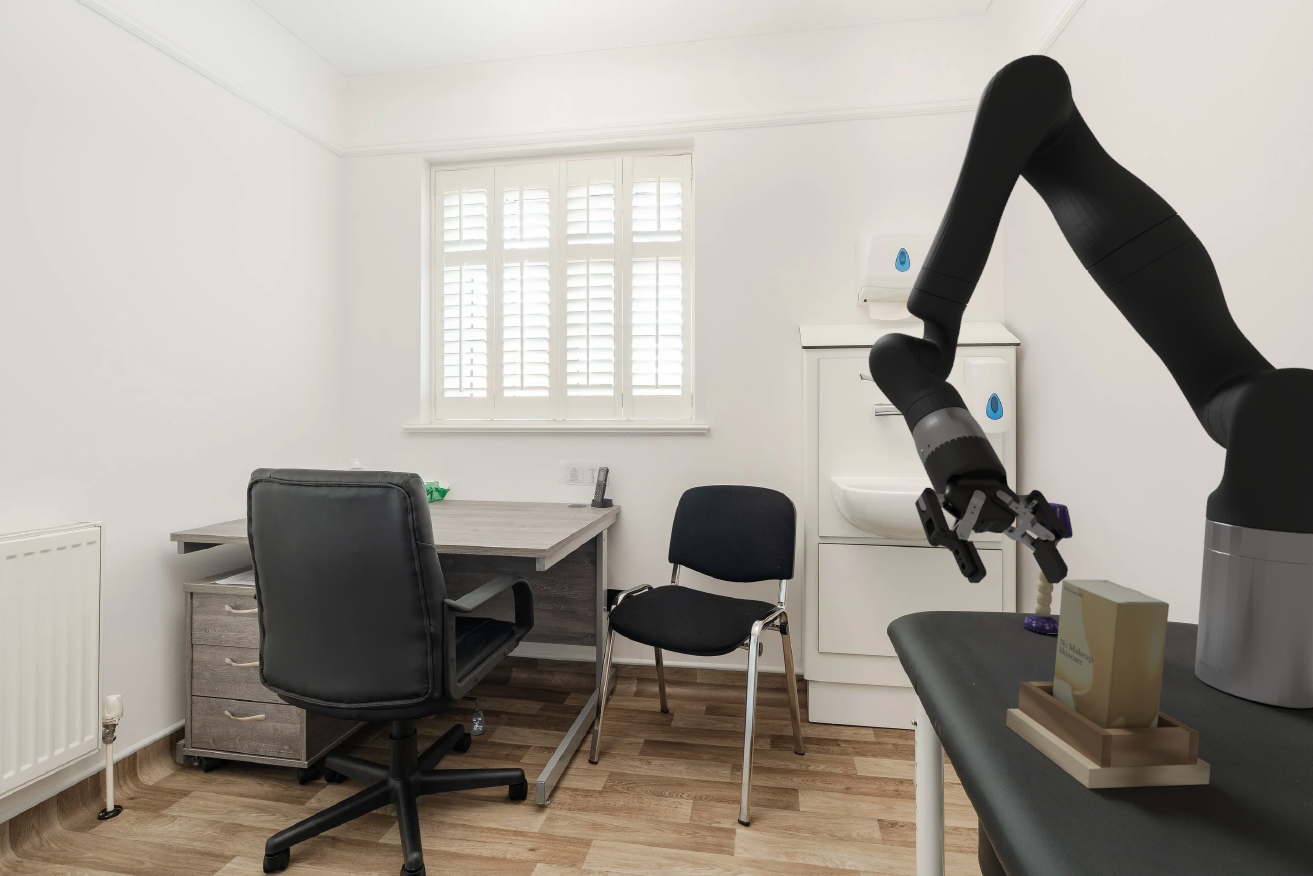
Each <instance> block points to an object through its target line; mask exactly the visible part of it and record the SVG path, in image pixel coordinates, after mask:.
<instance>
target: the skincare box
mask: <svg viewBox="0 0 1313 876" xmlns="http://www.w3.org/2000/svg"><path fill="white" fill-rule="evenodd" d="M1061 583H1062V584H1061V596H1060V607H1059V608H1060V609H1059V617H1058V618H1059V620H1058V624H1059V628H1058V635H1057V641H1056V651H1055V652H1056V653H1055V665H1054V675H1053V677H1054V678H1053V681H1054V686H1053V698H1055V699H1057V700H1058V701H1060V702H1061V703H1063V704H1065V705H1066V706H1068V707H1069V708H1071V709H1072V710H1074V711H1076V712H1077V713H1079V714H1080V715H1082V716H1084V717H1085V718H1087V719H1088V720H1090V721H1091V722H1093V723H1095V724H1096V725H1098V726H1099V727H1101V728H1103V729H1126V728H1157V723H1158V713H1159V711H1160V710H1159V709H1160V701H1161V692H1162V691H1161V690H1162V689H1161V688H1162V680H1163V670H1164V669H1163V668H1164V660H1165V647H1166V640H1167V629H1168V621H1169V619H1168V617H1169V609H1170V604H1169V602H1166V601H1163V600H1160V599H1158V598H1155V597H1153V596H1150V595H1147V594H1146V593H1143V592H1141V591H1139V590H1136V589H1133V588H1130V587H1126V586H1123V585H1120V584H1118V583H1116V582H1113V581H1110V580H1107V579H1063V580H1062V581H1061Z"/></svg>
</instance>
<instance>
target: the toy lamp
mask: <svg viewBox="0 0 1313 876" xmlns="http://www.w3.org/2000/svg"><path fill="white" fill-rule="evenodd" d="M1048 503H1049V504H1050V506H1051V507H1052V509H1053V510H1054V512H1055V513H1056V515H1057V516H1058V518H1059V519H1060V521H1061V522H1062V524H1063V525H1064V527H1065V528H1066V530H1067V532H1068V534H1067V535H1066V536H1065V537H1064V538H1063V539H1072V537H1073V528H1072V522H1071V518H1070V517H1071V516H1070V514H1069V513H1070V512H1069V508H1068V506H1067V505H1065V504H1062V503H1054V502H1048ZM1047 527H1048V529H1049V531H1050V530H1052V529H1051V528H1050V526H1049V525H1047ZM1058 544H1059V542H1058V543H1057V544H1056V545H1055V546H1056V547H1057V546H1058ZM1038 579H1039V580H1038V582H1037V584H1036V589H1037V593H1036V595H1035V600H1036V604H1035V606H1034V607H1035V608H1034V611H1035V614H1037V615H1049V616H1028V615H1026V617H1024V619H1023V621H1022V626H1023V628H1025V627H1026V628H1025V629H1027V630H1029V629H1030V630H1029V631H1031V630H1033V631H1032V632H1034V631H1036V632H1035V633H1038V632H1041V633H1040V634H1042V633H1058V628H1059V621H1058V620H1056V619H1055V618H1054V617H1052V616H1050V615H1051V611H1052V609H1051V604H1052V603H1053V602H1052V601H1053V596H1052V593H1053V591H1054V583H1049V582H1048V581H1047V579H1046V578H1045V576H1044V574H1043V572H1042V570H1041V568H1040V569H1039V570H1038Z"/></svg>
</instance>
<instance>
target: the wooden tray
mask: <svg viewBox="0 0 1313 876" xmlns="http://www.w3.org/2000/svg"><path fill="white" fill-rule="evenodd" d="M1053 686H1054V680H1052V681H1020V682H1019V693H1018V694H1019V696H1018V708H1007V710H1006V727H1008V728H1009V729H1010V730H1011V731H1013V732H1014V733H1015V734H1016V735H1018V736H1019V737H1021V738H1022V739H1023V740H1024V741H1026V742H1027V743H1029V744H1030V745H1031V746H1032V747H1033V748H1035V749H1036V750H1038V752H1040V753H1041V754H1043V755H1044V756H1045V757H1047V758H1048V759H1049V760H1050V761H1052V762H1053V763H1054V764H1056V765H1057V766H1058V767H1059V768H1061V769H1062V770H1063V771H1065V773H1067V774H1069V775H1070V776H1071V777H1073V778H1074V779H1075V780H1077V781H1078V782H1079V783H1080V784H1081V785H1083V786H1084V787H1086V788H1087V789H1105V788H1106V789H1107V788H1108V789H1109V788H1136V787H1137V788H1139V787H1160V786H1161V787H1163V786H1164V787H1166V786H1187V785H1189V786H1191V785H1193V786H1194V785H1209V784H1210V772H1211V764H1210V763H1208V762H1206V761H1205V760H1202V759H1201V758H1200V757H1198V756H1199V745H1200V743H1199V741H1200V731H1197V730H1196V729H1194V728H1192V727H1191V726H1188V725H1187V724H1186V723H1185V724H1184V723H1183V722H1181V721H1179V720H1177V719H1175V718H1173V717H1171V716H1169V715H1168V714H1166V713H1164V712H1163V711H1161V710H1159V713H1158V723H1157V728H1126V729H1103V728H1101V727H1099V726H1098V725H1096V724H1095V723H1093V722H1091V721H1090V720H1088V719H1087V718H1085V717H1084V716H1082V715H1080V714H1079V713H1077V712H1076V711H1074V710H1072V709H1071V708H1069V707H1068V706H1066V705H1065V704H1063V703H1061V702H1060V701H1058V700H1057V699H1055V698H1053Z"/></svg>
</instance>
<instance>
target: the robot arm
mask: <svg viewBox="0 0 1313 876" xmlns="http://www.w3.org/2000/svg"><path fill="white" fill-rule="evenodd" d="M1073 97H1074V96H1073V91H1072V84H1071V81H1070V78H1069V75H1068V73H1067V72H1066V70H1065V68H1064V67H1063V66H1062V65H1061V63H1059V62H1058V61H1057V60H1055V58H1052V57H1050V56H1048V55H1043V54H1030V55H1025V56H1021V57H1019V58H1016V59H1014V60H1012V61H1010V62H1009V63H1007V64H1005V65H1003V67H1002V68H1000V69H999V70H998V71H997V72H995V74H994V75H993V76H992V77H991V79H989V81H988V82H987V84H986V86H985V87H984V88H983V91H982V93H981V96H980V98H979V100H978V101H979V102H978V106H977V110H976V113H975V117H974V120H973V123H972V124H973V125H972V129H971V132H970V136H969V140H968V142H967V143H968V144H967V148H966V152H965V155H964V158H963V162H962V164H961V168H960V171H959V174H958V177H957V180H956V182H955V186H954V189H953V191H952V194H951V196H950V199H949V202H948V205H947V207H946V209H945V213H944V214H943V216H942V219H941V222H940V224H939V227H938V229H937V231H936V234H935V236H934V238H933V241H932V243H931V245H930V248H929V250H928V252H927V254H926V256H925V258H924V260H923V262H922V265H921V268H920V270H919V273H918V275H917V277H916V280H915V282H914V284H913V286H912V287H913V288H912V289H911V290H910V293H909V296H908V299H907V301H906V309H907V311H908V312H909V313H910V314H911V315H912V316H913V317H916V318H917V319H919V320H921V321H922V322H923V335H922V338H921V337H917V336H913V335H910V334H906V333H901V332H891V333H887V334H884V335H882V336H880V337H879V338H878V339H876V341H875V342H874V343H873V345H872V347H871V349H870V352H869V355H868V368H869V369H868V370H869V373H870V375H871V378H872V380H873V382H874V383H875V385H876V386H877V388H878V389H879V390H880V391H881V392H882V394H883V395H884V396H885V397H886V398H887V400H888V401H889V402H890V403H891V404H892V405H893V406H894V408H896V409H897V410H898V412H900V414H901V415H902V416H903V419H904V421H905V423H906V426H907V428H908V430H909V431H910V434H911V436H912V439H913V441H914V446H915V448H916V451H917V454H918V457H919V459H920V461H921V464H922V465H923V468H924V470H925V472H926V474H927V477H928V479H929V481H930V484H931V486H932V487H925V488H924V489H923V490H922V492H921V494H920V495H919V496H918V498H917V499H916V501H915V503H914V505H915V508H916V510H917V513H918V516H919V519H920V522H921V525H922V526H923V527H922V528H923V530H924V533H925V536H926V539H927V542H928V544H929V545H930V546H932V547H939V546H942V547H945V548H946V549H947V550H948V552H949V551H950V553H952V554H953V557H954V560H955V562H956V564H957V566H958V569H959V571H960V573H961V574H962V576H963V577H964V578H967V581H968V582H969V583H970V584H979V583H980V582H981V581H983V579H984V578H985V577H986V576H987V569H986V567H985V564H984V562H983V561H982V558H981V557H980V554H979V552H978V550H977V547H976V546H975V543H974V541H973V540H969V538H970V536H971V533H972V531H973V532H974V534H983V533H986V532H989V533H993V534H1004V535H1005V536H1006V537H1008V538H1009V539H1010V540H1012V541H1018V542H1020V543H1021V544H1024V546H1025V547H1027V548H1029V549H1030V550H1031V551H1032V552H1033V553H1032V555H1033V557H1034V560H1035V561H1036V563H1037V565H1038V566H1039V568H1040V569H1041V570H1042V572H1043V574H1044V576H1045V578H1046V579H1047V581H1048V582H1049V583H1053V584H1059V583H1060V582H1062V581H1063V580H1065V578H1067V576H1068V572H1069V569H1068V566H1067V563H1066V562H1065V561H1064V558H1063V557H1062V555H1061V553H1060V551H1059V550H1058V548H1057V546H1055V545H1056V544H1057V543H1058V544H1059V542H1061V541H1062V540H1063V539H1065V538H1064V537H1065V536H1066V535H1067V534H1068V532H1067V530H1066V528H1065V527H1064V525H1063V524H1062V522H1061V521H1060V519H1059V518H1058V516H1057V515H1056V513H1055V512H1054V510H1053V509H1052V507H1051V506H1050V504H1049V503H1050V502H1048V499H1046V497H1045V496H1044V494H1043V493H1042V492H1041V491H1040V490H1038V489H1033V490H1031V491H1030V492H1029V493H1028V494H1018V493H1016V492H1015V491H1013V490H1012V489H1011V487H1009V485H1008V476H1007V475H1008V474H1007V471H1006V468H1005V467H1004V464H1003V463H1002V461H1001V459H1000V457H999V456H998V454H997V452H996V451H995V449H994V447H993V446H992V444H991V442H990V441H989V438H988V437H987V434H986V433H985V432H984V430H983V428H982V427H981V425H980V424H979V422H978V421H977V420H976V419H975V417H974V416H973V415H972V413H971V412H970V410H969V408H968V406H967V404H966V402H965V401H964V399H963V397H962V396H961V394H960V392H959V391H958V390H957V388H956V387H955V386H954V385H953V384H952V383H950V382H949V381H947V380H948V379H949V377H950V375H951V373H952V370H953V367H954V364H955V359H956V354H957V347H958V343H959V336H960V333H961V328H962V327H961V326H962V320H963V315H964V313H965V311H966V308H967V307H968V304H969V302H970V300H971V298H972V296H973V294H974V292H975V290H976V287H977V285H978V283H979V282H980V279H981V276H982V275H983V272H984V270H985V267H986V265H987V262H988V260H989V256H990V254H991V251H992V248H993V244H994V241H995V238H996V235H997V232H998V229H999V226H1000V223H1001V219H1002V217H1003V215H1004V211H1005V208H1006V206H1007V205H1008V202H1009V199H1010V197H1011V194H1012V192H1013V190H1014V188H1015V185H1016V184H1017V182H1018V180H1019V179H1020V176H1021V177H1022V178H1023V179H1024V180H1025V181H1026V182H1027V183H1028V185H1030V186H1031V187H1032V188H1033V189H1034V190H1035V192H1036V193H1037V194H1038V195H1039V196H1040V197H1041V199H1042V200H1043V201H1044V203H1045V204H1046V205H1047V206H1046V207H1048V209H1049V211H1050V212H1051V215H1052V216H1053V219H1054V220H1055V222H1056V224H1057V226H1058V227H1059V229H1060V231H1061V233H1062V235H1063V237H1064V238H1065V239H1066V242H1067V243H1068V245H1069V247H1070V248H1071V249H1072V251H1073V253H1074V254H1075V256H1076V257H1077V259H1078V261H1080V264H1081V265H1082V266H1083V268H1084V269H1085V270H1086V271H1087V273H1088V274H1089V276H1090V277H1091V278H1092V279H1093V280H1094V282H1095V283H1096V285H1098V287H1099V288H1100V290H1101V291H1102V292H1103V293H1104V295H1105V296H1106V297H1107V298H1108V299H1109V300H1110V301H1111V303H1112V304H1113V305H1114V306H1115V307H1116V308H1117V310H1118V311H1119V312H1120V314H1122V316H1123V318H1125V321H1127V322H1128V323H1129V325H1131V327H1132V328H1133V330H1135V332H1136V333H1137V334H1138V336H1139V337H1141V338H1142V340H1143V341H1144V342H1145V343H1146V344H1147V346H1149V347H1150V349H1151V350H1152V351H1153V352H1154V353H1155V354H1156V355H1157V357H1158V358H1159V359H1160V360H1161V362H1162V363H1163V365H1164V366H1165V367H1166V368H1167V370H1168V371H1169V373H1170V375H1171V376H1172V378H1173V379H1174V381H1175V383H1176V385H1177V386H1178V387H1179V390H1180V391H1181V392H1182V394H1183V396H1184V398H1185V400H1186V401H1187V403H1188V405H1189V407H1190V408H1191V410H1192V412H1193V413H1194V415H1195V416H1196V418H1197V421H1198V422H1199V423H1200V425H1201V427H1202V428H1203V430H1204V431H1205V432H1206V434H1207V435H1208V436H1209V437H1210V438H1211V440H1212V441H1214V442H1215V443H1216V444H1217V445H1219V446H1220V447H1221V448H1223V449H1225V450H1226V451H1225V460H1224V469H1223V474H1222V477H1221V480H1220V483H1219V484H1218V486H1217V487H1216V488H1215V489H1214V490H1213V491H1211V492H1210V494H1209V495H1208V496H1207V500H1206V507H1205V508H1206V509H1205V524H1204V525H1205V527H1204V539H1203V540H1204V541H1203V555H1202V557H1203V558H1202V568H1201V581H1200V597H1199V610H1198V624H1197V625H1198V626H1197V637H1196V647H1195V648H1196V650H1195V651H1196V652H1195V663H1194V675H1195V676H1196V678H1198V679H1199V681H1202V682H1203V683H1204V684H1207V685H1209V686H1211V687H1213V688H1215V689H1218V690H1219V691H1222V692H1224V693H1227V694H1231V695H1233V696H1236V697H1239V698H1243V699H1247V700H1249V701H1255V702H1258V703H1262V704H1267V705H1272V706H1278V707H1284V708H1292V709H1312V708H1313V369H1311V368H1304V367H1283V368H1276V367H1275V366H1274V365H1273V364H1272V363H1271V362H1269V361H1268V359H1267V358H1266V357H1264V355H1263V354H1262V353H1261V352H1260V351H1259V350H1258V349H1257V347H1255V346H1254V345H1253V343H1252V342H1251V341H1250V340H1249V339H1248V338H1247V336H1246V335H1245V334H1244V333H1243V332H1242V330H1241V329H1240V328H1239V326H1238V325H1237V323H1236V322H1235V320H1234V318H1233V316H1232V313H1231V312H1230V309H1229V307H1228V304H1227V301H1226V298H1225V294H1224V292H1223V291H1224V290H1223V287H1222V285H1221V282H1220V278H1219V275H1218V273H1217V270H1216V267H1215V264H1214V261H1213V260H1212V258H1211V256H1210V253H1209V252H1208V250H1207V249H1206V247H1205V245H1204V244H1203V243H1202V241H1201V239H1199V237H1198V236H1197V235H1196V233H1195V232H1194V231H1193V230H1192V229H1191V227H1190V226H1189V225H1188V224H1187V223H1186V222H1185V220H1184V219H1183V218H1182V217H1181V216H1180V214H1178V212H1177V211H1176V209H1174V207H1173V206H1171V204H1170V203H1168V202H1167V201H1166V199H1164V198H1163V197H1162V196H1161V195H1160V194H1159V193H1157V191H1155V190H1154V189H1153V188H1152V187H1150V186H1149V185H1148V184H1147V183H1145V182H1144V181H1143V180H1142V179H1141V178H1139V177H1138V176H1136V174H1134V173H1133V172H1131V171H1130V170H1128V169H1127V168H1126V167H1124V166H1123V165H1121V164H1120V163H1119V162H1118V161H1117V160H1116V159H1114V158H1113V157H1112V156H1111V155H1110V154H1109V153H1108V151H1106V149H1105V148H1104V147H1103V146H1102V144H1101V143H1100V141H1099V140H1098V139H1097V137H1096V136H1095V134H1094V132H1092V130H1091V128H1090V126H1088V124H1087V122H1086V121H1085V119H1084V117H1083V116H1082V114H1081V112H1080V111H1079V108H1078V107H1077V104H1076V103H1075V100H1074V98H1073ZM943 510H944V511H946V513H948V514H949V515H950V516H952V517H954V519H955V520H954V522H953V524H952V527H951V529H950V527H949V524H948V522H947V519H946V516H945V513H944V511H943ZM1016 518H1017V519H1018V520H1020V522H1021V524H1020V525H1019V526H1018V527H1015V526H1013V524H1014V523H1015V520H1016ZM1047 525H1049V526H1050V528H1051V529H1052V530H1050V531H1049V529H1048V527H1047ZM1027 531H1029V532H1030V533H1032V534H1034V536H1036V538H1035V537H1033V536H1032V535H1031V534H1029V532H1027Z"/></svg>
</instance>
